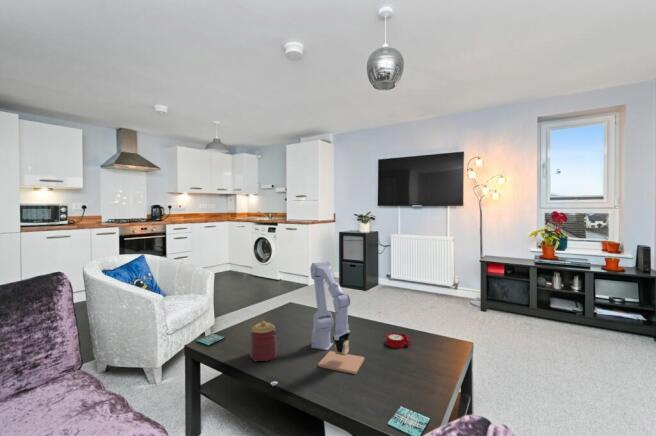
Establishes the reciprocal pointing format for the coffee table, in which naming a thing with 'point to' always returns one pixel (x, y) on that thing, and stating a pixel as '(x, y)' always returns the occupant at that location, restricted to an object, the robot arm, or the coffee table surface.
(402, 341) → the alarm clock
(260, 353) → the canister
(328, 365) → the terracotta tile
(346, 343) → the maple cube
